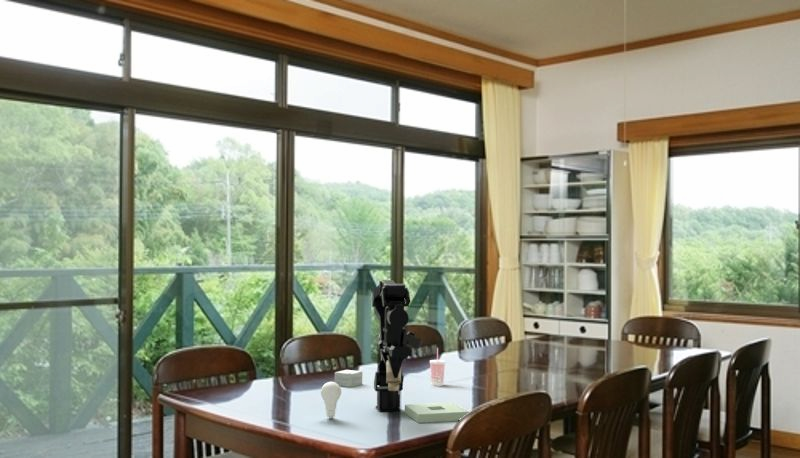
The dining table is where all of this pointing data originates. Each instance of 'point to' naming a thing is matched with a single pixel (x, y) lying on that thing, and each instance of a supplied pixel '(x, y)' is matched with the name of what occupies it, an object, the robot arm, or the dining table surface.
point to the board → (435, 412)
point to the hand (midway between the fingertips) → (393, 376)
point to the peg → (392, 379)
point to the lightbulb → (330, 397)
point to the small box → (348, 378)
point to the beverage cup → (437, 371)
